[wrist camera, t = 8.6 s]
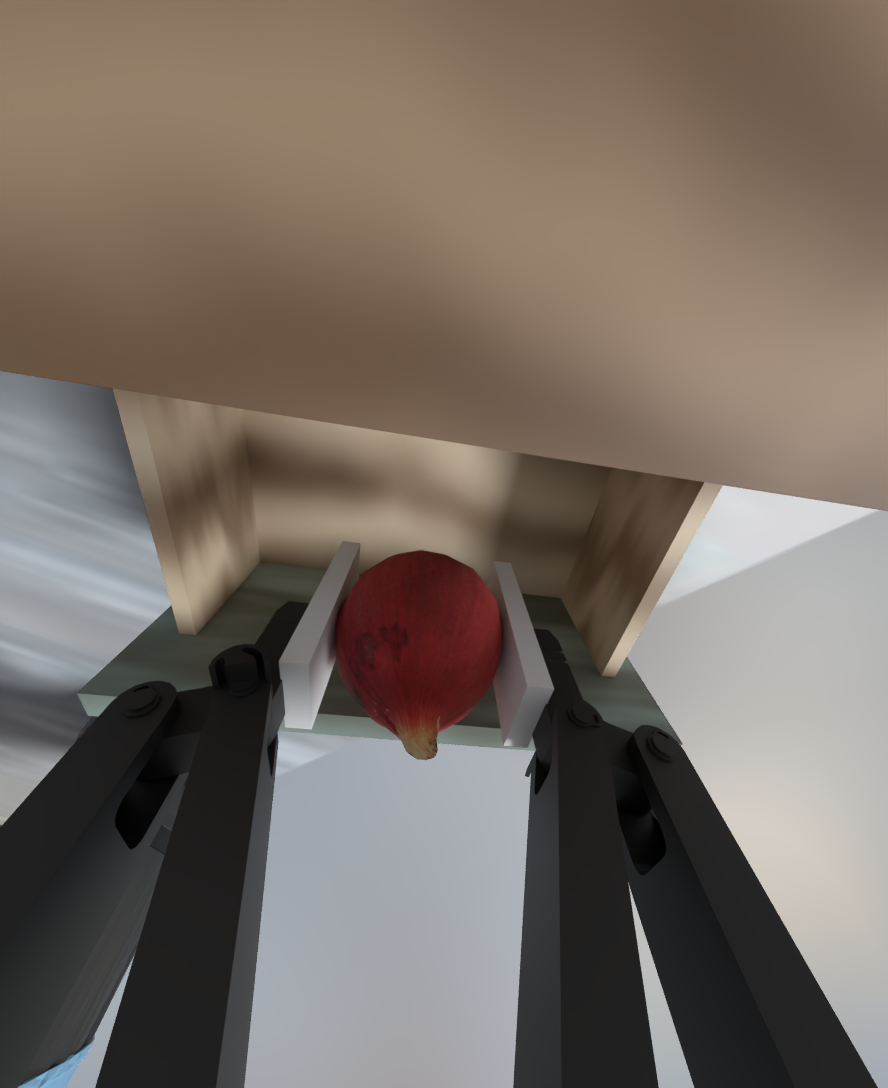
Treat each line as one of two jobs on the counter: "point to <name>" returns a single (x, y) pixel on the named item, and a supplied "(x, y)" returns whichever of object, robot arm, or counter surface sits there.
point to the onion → (418, 645)
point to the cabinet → (467, 222)
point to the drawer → (390, 545)
